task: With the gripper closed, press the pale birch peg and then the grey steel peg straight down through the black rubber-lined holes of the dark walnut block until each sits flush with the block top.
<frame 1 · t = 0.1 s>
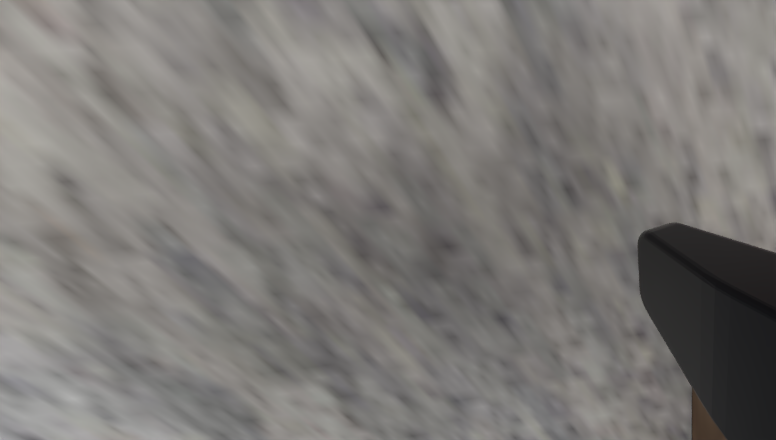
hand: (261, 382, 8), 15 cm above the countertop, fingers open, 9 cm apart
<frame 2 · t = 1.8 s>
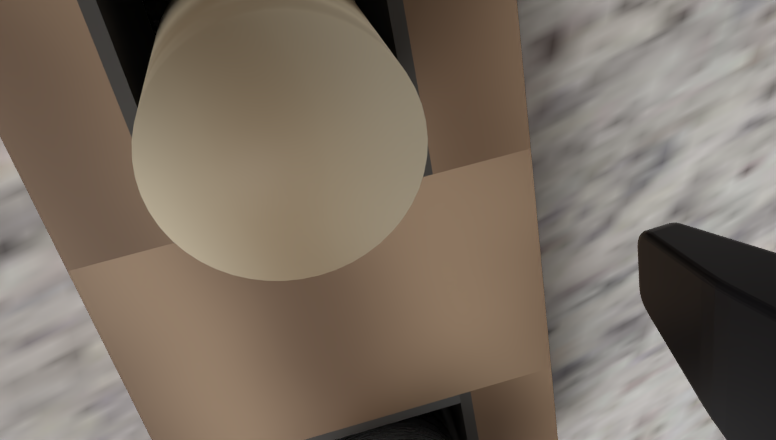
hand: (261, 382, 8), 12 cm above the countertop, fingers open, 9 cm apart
birch peg: (274, 104, 13), point 6 cm above the countertop, slide at 3.5 cm
walnut block: (313, 222, 21), on the countertop
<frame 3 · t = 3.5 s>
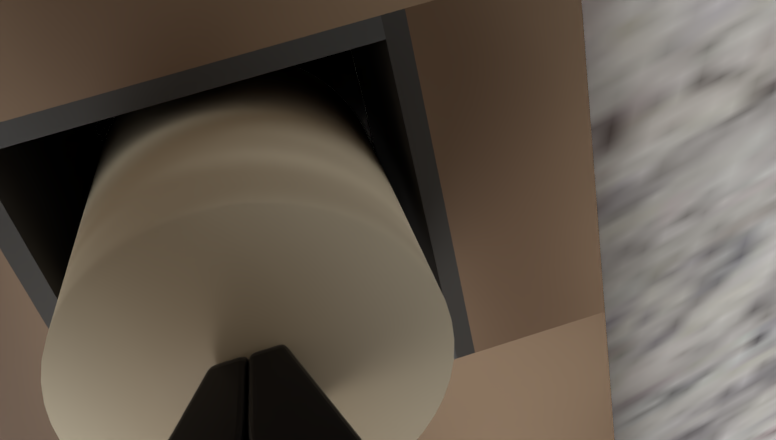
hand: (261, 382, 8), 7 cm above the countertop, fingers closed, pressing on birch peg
birch peg: (249, 264, 10), point 5 cm above the countertop, slide at 2.4 cm, touching gripper
walnut block: (317, 352, 17), on the countertop
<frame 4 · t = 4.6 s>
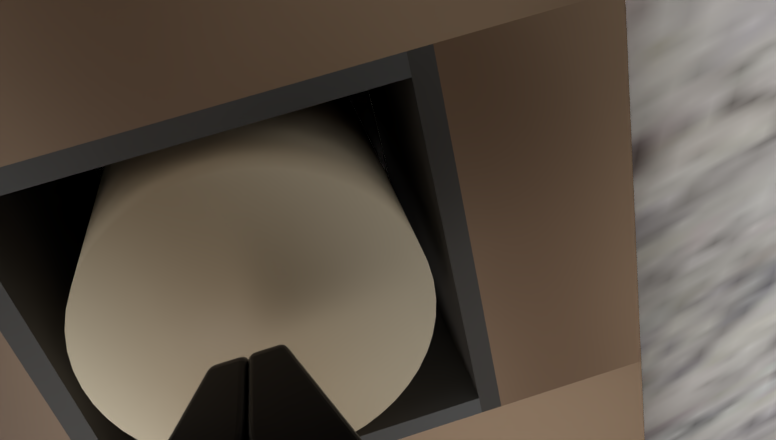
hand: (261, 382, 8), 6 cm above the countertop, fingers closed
birch peg: (250, 235, 11), point 3 cm above the countertop, slide at 0.3 cm
walnut block: (326, 387, 17), on the countertop
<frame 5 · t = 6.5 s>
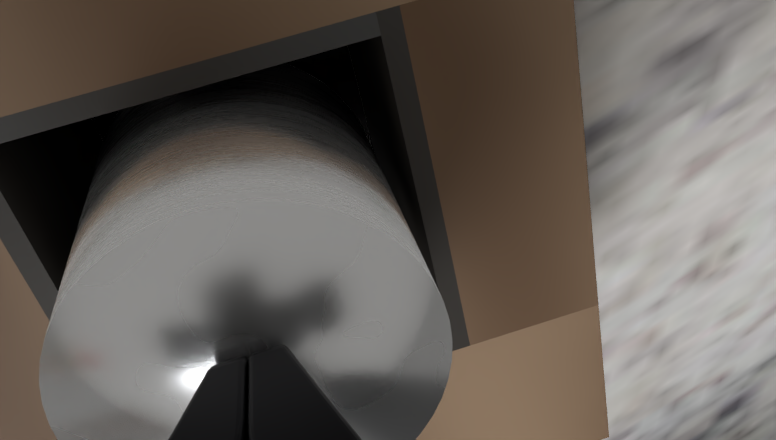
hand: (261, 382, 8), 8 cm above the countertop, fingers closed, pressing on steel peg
steel peg: (248, 265, 10), point 5 cm above the countertop, slide at 2.5 cm, touching gripper
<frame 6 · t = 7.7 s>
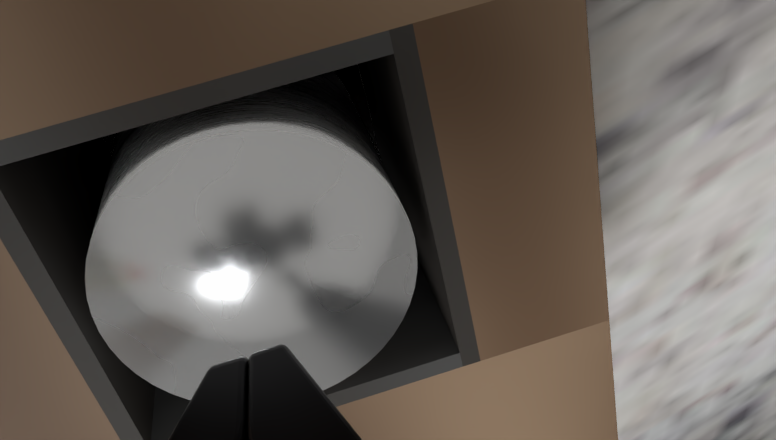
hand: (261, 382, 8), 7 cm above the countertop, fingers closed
steel peg: (250, 202, 12), point 3 cm above the countertop, slide at 0.2 cm
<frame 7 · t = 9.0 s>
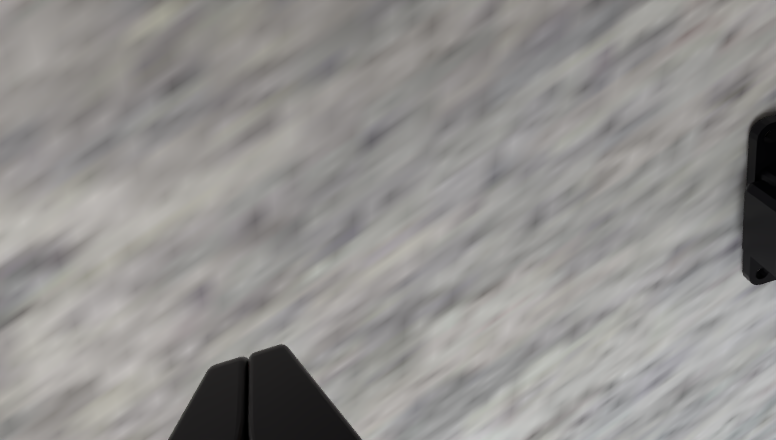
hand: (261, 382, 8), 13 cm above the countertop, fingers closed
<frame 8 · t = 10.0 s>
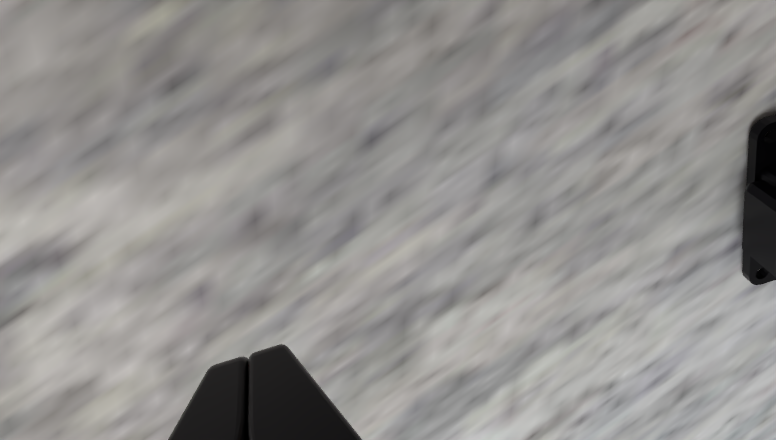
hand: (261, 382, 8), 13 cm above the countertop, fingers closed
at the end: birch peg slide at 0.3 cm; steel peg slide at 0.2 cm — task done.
